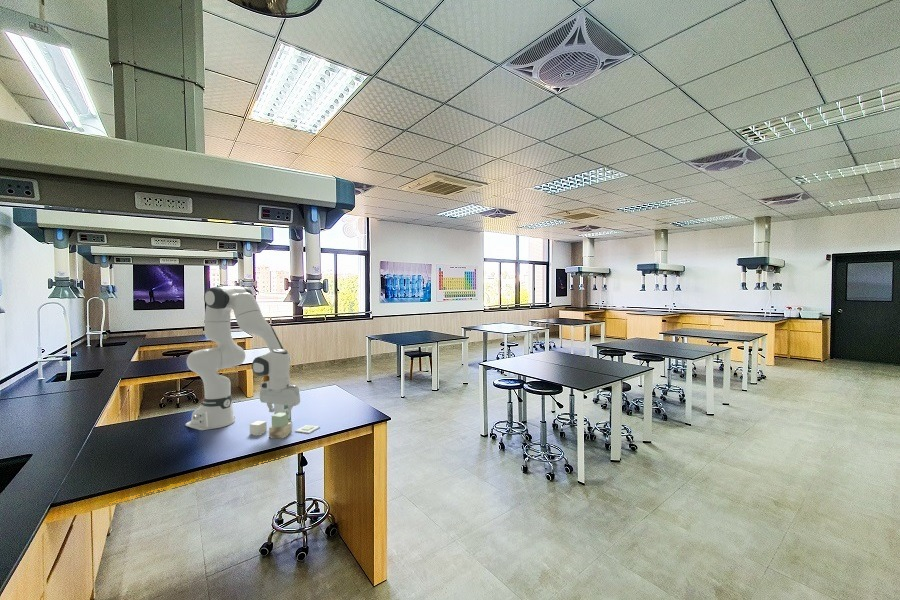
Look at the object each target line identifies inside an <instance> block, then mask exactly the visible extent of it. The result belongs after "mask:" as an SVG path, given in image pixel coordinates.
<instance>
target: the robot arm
mask: <svg viewBox="0 0 900 600" xmlns="http://www.w3.org/2000/svg"><path fill="white" fill-rule="evenodd" d="M203 299H204V303H205V305H206V306H205V311H204V337H205V338H206V339H208V340H209V341H211V342H214V343H216V344H217V347H211V348H210V347H209V348H203V349H202V348H201V349H198V350H195V351H192V352H190V353H189V354H188V356H187V358H186V365H187V368H188V369H189V370H190V371H192V372H193V373H195V374H197V375H198V376H199V377H200V378H201V380H202V383H203V388H204V397H203V398H202V399H200V402H202V403H201V405H200V406H199V407H198V408H196V409H195V410H193V412H192V413H191V420H190V421H188V422H186V423H185V426H186V427H189V428H191V429H195V430H198V431H208V430H212V429H214V430H215V429H220V428H224V427H227V426H230V425H232V424H234V423H235V422H236V420H235V419H236V417H235V415H234V407H233V404H232V400H233V399H232V398H233V397H232V394H231V392H232V391H231V380H230V378H228V377H227V376H225V375H223V374H222V375H221V374H219V373H218V371H219V370H222V369H229V368H234V367H237V366H240V365H242V364H243V363H244V362H245V360H246V352H245V350H244V349H243V347H241V345H238V344H237V343H236V342H235V340H234V339H233V336H232V332H231V331H232V329H231V312H232V311H233V313H234V316H235V321H236V324H237V325H238V327H239V328H240V330H241V331H243V332H244V333H247V334H251V335H255V336H259V337H260V338H261V339H263V340H264V342H265V343H266V345H267V348H268V350H269V352H267V353H266V354H262V355H260V356H257V357H255V358H254V359H253V361H252V363H251V370H252V372H253V374H255V375H256V376H258V377H265V376H268V377H269V380H267V381H264V382H261V383H260V384H259V386H260V390H259V401H260V402H261V403H264V404H266V406H267V408H268V413H274V404H280V405H288V410H287V411H286V414H288V415H289V414H291V415H292V410H293V407H296V406H298V405H300V403H301V396H300V389H299V387H298V386H297V385H295V384H294V385H293V384H291V373H290V369H291V359H290V358H291V357H290V354H289V351H288V350H286V349H284V347H283V346H282V343H281V341H280V339H279V337H278V334H277V333H276V331H275V329H274V328H273V326H272V325H271V324H270V323H269V322H268V321H267V320H266V319H265V317H264V316H263V314H262V311H261V308H260V306H259V303H258V301H257V300H256V298H255V296H254V295H253V292H252V290H251V289H250V288H249V287H246V286H237V285H235V286H234V285H226V286H213V287H209V288H208V289H206V291H205V293H204V296H203Z"/></svg>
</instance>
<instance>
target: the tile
mask: <svg viewBox="0 0 900 600" xmlns="http://www.w3.org/2000/svg"><path fill="white" fill-rule="evenodd" d="M320 428H321V426H319V425H313V424H311V425H310V424H305V425H303V426H302V427H299V428H297V429H295V430H294V432H295V433H300V432H302V434H308V433H310V434H311V433H313V432H315V431H316V430H318V429H320Z"/></svg>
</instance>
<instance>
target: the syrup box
mask: <svg viewBox="0 0 900 600" xmlns="http://www.w3.org/2000/svg"><path fill="white" fill-rule="evenodd" d="M273 408H274V412H273V413H274V414H273V415H275V414H277V413H279V412H280V413H286V411H287V410H288V405H280V404H273ZM291 421H292V413H291V414H289V415H288V422H291Z"/></svg>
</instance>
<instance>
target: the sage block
mask: <svg viewBox="0 0 900 600" xmlns="http://www.w3.org/2000/svg"><path fill="white" fill-rule="evenodd" d="M287 424H288V414H286V413H280V412H279V413H277V414H275V415H274V414H273V415H271V426H272V427H280V428H281V427H283V426H285V425H287Z"/></svg>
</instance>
